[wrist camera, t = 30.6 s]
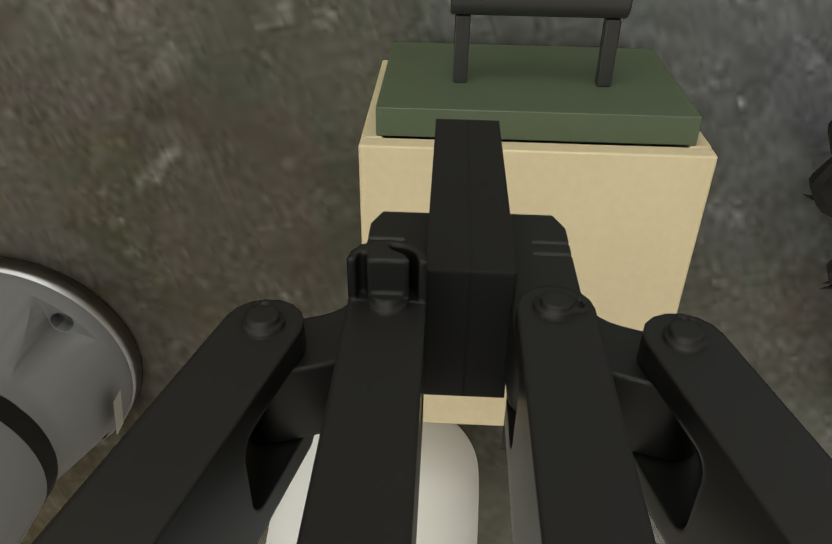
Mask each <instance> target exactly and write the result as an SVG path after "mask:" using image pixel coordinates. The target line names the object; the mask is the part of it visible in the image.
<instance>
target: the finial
mask: <svg viewBox="0 0 832 544" xmlns="http://www.w3.org/2000/svg"><path fill="white" fill-rule="evenodd" d="M828 136H829V142H830V149H831V152H832V121H831V122H830V123H829V125H828ZM809 183H810V189H811V193H812V196H810V195H806V194H803V195H805V196H806V197H808V198H810V199H812V200H814V201H815V204H816V206H817V207H818V208H819V209H820V211H821V212H822V213H824V214H826V215H827V216H829V217H831V218H832V157H831V158H830V159H829V160H827V161H826V162H825V163H824V164H823V165H822V166H821V167H819V168H818V169H817V170H816V171H815V172H814V173H813V174H812V175H811V177H810V178H809ZM801 194H802V193H801ZM827 271H828V278H829V281H827V282H824V283H826V284H831V285H830V286H827V287H823V288H820V289H832V260H831V261H830V262H829V263H828V264H827Z"/></svg>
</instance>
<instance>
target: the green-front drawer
mask: <svg viewBox="0 0 832 544" xmlns="http://www.w3.org/2000/svg"><path fill="white" fill-rule="evenodd" d="M632 2H633V0H451V14H455V39H454V43H423V42H393V44H392V48H391V51H390V55H389V59H388V63H387V66H386V70H385V74H384V78H383V82H382V85H381V89H380V93H379V97H378V100H377V104H376V135H377V136H401V139H431V140H435V126H436V119H461V120H494V121H499V124H500V132H501V140H531V141H562V142H581V144H589V145H620V146H651V145H650V144H657V145H689V146H696V144H697V139H698V135H699V131H700V127H701V123H702V119H703V117H702V115H701V114H700V113H699V111H698V110H697V109H696V107H695V106H694V105H693V103H692V102H691V101H690V99H689V98H688V97H687V95H686V94H685V93H684V91H683V90H682V89H681V87H680V86H679V85H678V83H677V82H676V81H675V79H674V78H673V77H672V75H671V74H670V73H669V71H668V70H667V69H666V67H665V66H664V65H663V63H662V62H661V61H660V59H659V58H658V57H657V55H656V54H655V53H654V51H653V50H652V49H644V48H617V45H618V39H619V33H620V27H621V19H625V18H627V17H628V15H629V13H630V11H631V7H632ZM470 15H503V16H542V17H581V18H604V23H603V30H602V37H601V43H600V47H571V46H534V45H497V44H469V35H470Z"/></svg>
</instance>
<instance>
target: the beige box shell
mask: <svg viewBox="0 0 832 544" xmlns="http://www.w3.org/2000/svg"><path fill="white" fill-rule="evenodd" d="M387 63H388V60H383V61H382V65H381V69H380V72H379V76H378V79H377V83H376V86H375V90H374V93H373V97H372V100H371V104H370V107H369V111H368V114H367V118H366V121H365V125H364V128H363V132H362V135H361V139H360V143H359V146H358V149H359V178H360V208H361V238H362V244H365V243H367V240H368V235H369V230H370V226H371V223H372V222H373V221H374V220H375V219H376V218H377V217H378V216H379V215H380V214H381V213H382V212H383V211H390V212H418V213H429V209H430V195H431V182H432V168H433V154H434V140H431V139H401V136H377V135H376V104H377V100H378V97H379V93H380V89H381V85H382V82H383V78H384V74H385V70H386V66H387ZM650 145H651V146H620V145H589V144H557V143H526V142H502V149H503V157H504V166H505V174H506V182H507V191H508V199H509V207H510V214H525V215H552V216H553V217H554V218H555V219H556V220H557V221H558V222H559V223H560V224H561V225H562V226H563V227H564V228H565V229H566V233H567V238H568V242H569V246H570V250H571V257H572V258H573V262H574V266H575V271H576V275H577V279H578V283H579V287H580V291H581V294H583V295H584V296H585V297H587V298H588V299H589V300H590V301H591V302H592V304H593V306H594V307H595V309H596V313H597V316H598V317H600V318H602V319H604V320H606V321H608V322H610V323H614V324H617V325H620V326H623V327H627V328H631V329H635V330H639V331H643V329H644V325H645V323H646V322H647V321H649V320H650V319H651V318H652V317H654V316H658V315H662V314H677V311H678V307H679V303H680V299H681V296H682V292H683V288H684V284H685V280H686V277H687V273H688V269H689V265H690V261H691V258H692V254H693V250H694V246H695V242H696V239H697V235H698V231H699V227H700V223H701V220H702V216H703V212H704V208H705V204H706V201H707V197H708V193H709V189H710V185H711V182H712V178H713V174H714V170H715V166H716V163H717V159H718V157H717V155H716V154H715V152H714V151H713V150H712V147H711V146H710V144H709V143H708V142H707V140H706V139H705V137H704V136H703V135H702V133H701V132H700V131H699V135H698V139H697V144H696V146H689V145H657V144H650ZM506 399H507V393H506V385H505V394H504V398H493V397H470V396H448V395H425V394H424V402H423V422H428V423H450V424H472V425H494V426H504V417H505V408H506Z"/></svg>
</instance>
